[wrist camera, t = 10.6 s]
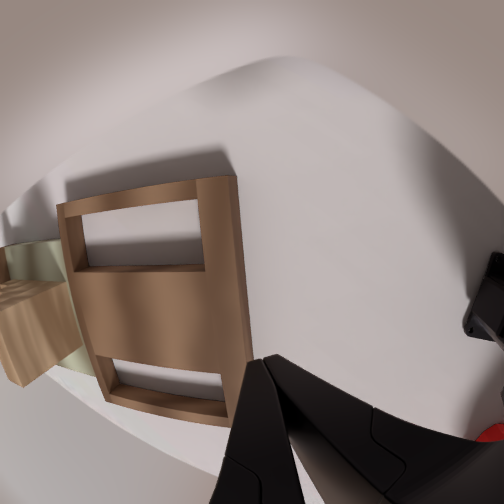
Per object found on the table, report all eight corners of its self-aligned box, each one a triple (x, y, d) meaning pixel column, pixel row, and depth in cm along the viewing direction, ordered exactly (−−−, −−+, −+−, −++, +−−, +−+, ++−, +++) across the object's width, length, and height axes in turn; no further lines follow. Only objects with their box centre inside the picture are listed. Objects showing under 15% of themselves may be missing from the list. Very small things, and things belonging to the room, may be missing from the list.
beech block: (66, 281, 22) (-5, 313, 14) (83, 344, 23) (23, 387, 15) (13, 279, 24) (-43, 301, 16) (27, 330, 25) (-23, 359, 18)
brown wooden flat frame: (236, 176, 19) (209, 173, 14) (259, 414, 23) (245, 456, 18) (10, 217, 25) (-24, 225, 20) (48, 369, 29) (22, 387, 24)
